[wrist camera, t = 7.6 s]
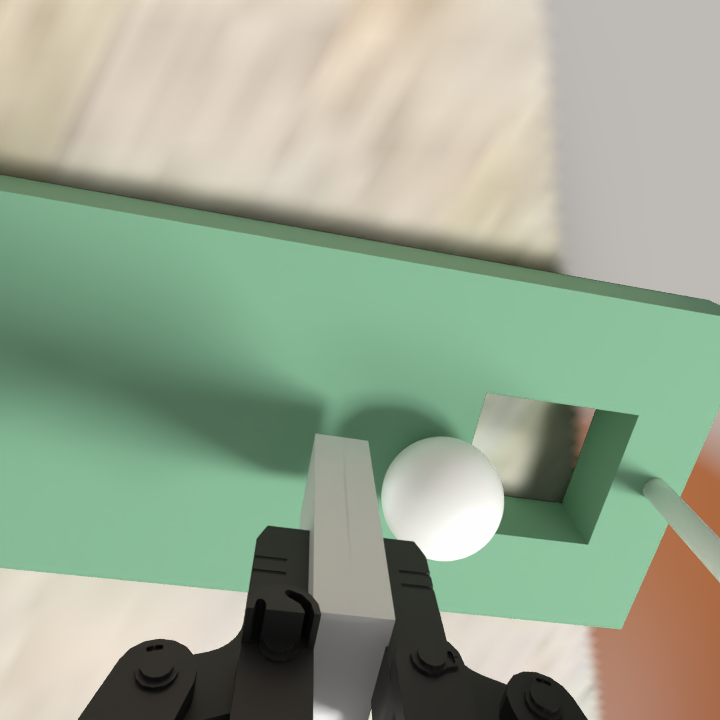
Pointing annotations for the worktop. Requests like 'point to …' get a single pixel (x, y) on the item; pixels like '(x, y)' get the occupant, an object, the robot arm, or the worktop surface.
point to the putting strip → (323, 397)
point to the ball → (443, 498)
